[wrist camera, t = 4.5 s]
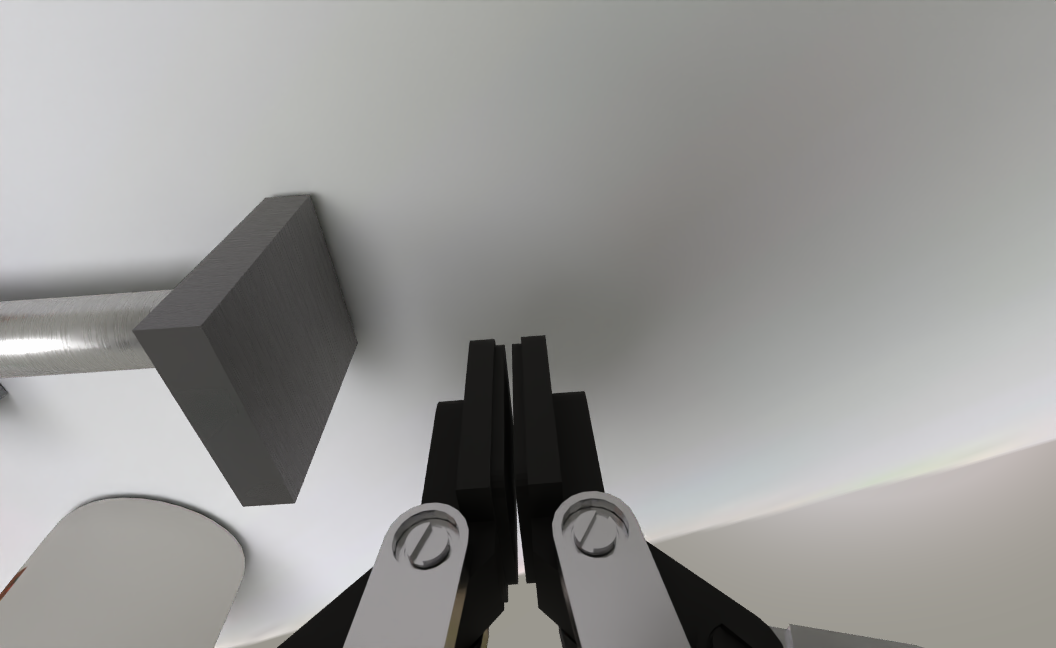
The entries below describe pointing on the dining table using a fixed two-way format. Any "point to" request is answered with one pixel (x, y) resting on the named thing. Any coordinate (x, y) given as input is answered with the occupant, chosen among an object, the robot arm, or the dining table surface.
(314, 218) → the plunger
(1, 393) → the cage
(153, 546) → the milk bottle
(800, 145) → the dining table surface
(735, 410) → the dining table surface
